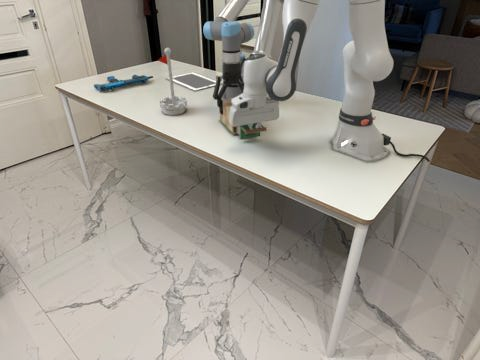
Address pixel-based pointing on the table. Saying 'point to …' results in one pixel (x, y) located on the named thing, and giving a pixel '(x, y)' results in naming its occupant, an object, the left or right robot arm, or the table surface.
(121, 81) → the submachine gun
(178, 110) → the flag stand
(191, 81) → the tablet
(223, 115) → the tan storage bin
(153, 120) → the table surface
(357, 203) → the table surface
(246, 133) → the drawer
